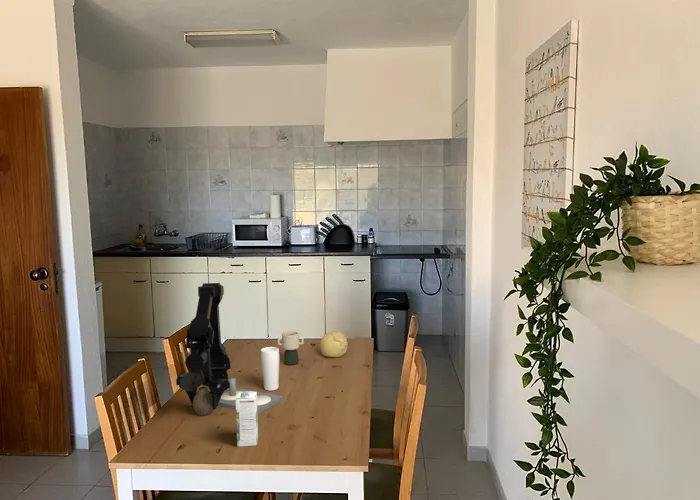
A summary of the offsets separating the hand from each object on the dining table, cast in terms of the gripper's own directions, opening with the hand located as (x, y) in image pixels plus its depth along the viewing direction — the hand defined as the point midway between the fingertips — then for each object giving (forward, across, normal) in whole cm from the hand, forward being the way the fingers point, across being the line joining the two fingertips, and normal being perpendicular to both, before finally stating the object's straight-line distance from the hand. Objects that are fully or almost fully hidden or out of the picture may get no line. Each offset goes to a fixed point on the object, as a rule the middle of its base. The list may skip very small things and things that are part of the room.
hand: (204, 407), depth 190 cm
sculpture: (+2, +8, +73) cm, 73 cm away
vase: (+2, 0, 0) cm, 2 cm away
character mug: (+2, -3, +56) cm, 56 cm away
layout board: (+2, +6, +14) cm, 15 cm away
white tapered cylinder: (+2, +7, +28) cm, 29 cm away
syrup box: (+2, +27, -11) cm, 29 cm away
